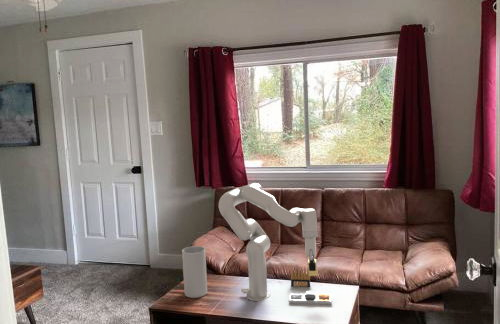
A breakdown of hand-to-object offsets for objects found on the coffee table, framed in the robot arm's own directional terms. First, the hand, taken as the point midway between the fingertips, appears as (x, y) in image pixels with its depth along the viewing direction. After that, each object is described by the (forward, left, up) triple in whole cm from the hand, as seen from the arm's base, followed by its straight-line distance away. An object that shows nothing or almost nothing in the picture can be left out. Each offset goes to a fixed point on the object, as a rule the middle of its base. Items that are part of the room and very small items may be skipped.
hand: (312, 268), depth 216 cm
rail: (-2, 0, -18) cm, 18 cm away
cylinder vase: (-64, +8, -19) cm, 67 cm away
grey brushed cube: (-2, 0, -17) cm, 17 cm away
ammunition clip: (-7, +19, -19) cm, 28 cm away
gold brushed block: (0, 0, -3) cm, 3 cm away
